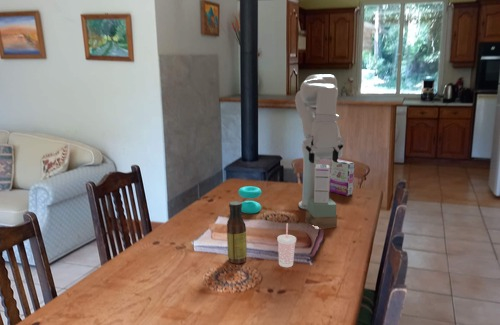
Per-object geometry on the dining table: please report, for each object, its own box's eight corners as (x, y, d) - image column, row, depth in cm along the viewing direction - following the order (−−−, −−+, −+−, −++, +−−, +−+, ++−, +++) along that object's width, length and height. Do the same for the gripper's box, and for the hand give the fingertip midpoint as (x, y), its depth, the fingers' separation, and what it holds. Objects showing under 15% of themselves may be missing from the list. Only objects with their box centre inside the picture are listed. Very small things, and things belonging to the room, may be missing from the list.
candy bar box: (353, 194, 218) (355, 162, 214) (347, 196, 214) (349, 163, 210) (334, 189, 226) (336, 158, 222) (328, 191, 222) (330, 159, 218)
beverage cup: (283, 269, 138) (285, 228, 135) (272, 262, 143) (273, 222, 140) (299, 265, 141) (300, 224, 138) (287, 258, 146) (289, 218, 143)
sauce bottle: (249, 258, 146) (250, 201, 142) (242, 266, 141) (243, 207, 136) (231, 255, 148) (231, 198, 144) (224, 262, 143) (223, 204, 138)
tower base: (305, 222, 180) (305, 210, 179) (324, 219, 183) (324, 208, 182) (317, 230, 172) (317, 218, 171) (336, 226, 175) (337, 215, 174)
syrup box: (328, 203, 172) (330, 167, 168) (313, 202, 173) (314, 167, 169) (328, 199, 177) (330, 164, 174) (313, 198, 178) (315, 163, 175)
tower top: (307, 209, 180) (307, 198, 179) (328, 208, 181) (329, 197, 180) (313, 217, 171) (314, 205, 170) (335, 216, 173) (336, 204, 171)
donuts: (237, 191, 186) (239, 185, 196) (237, 213, 188) (239, 206, 198) (260, 192, 185) (262, 185, 195) (260, 214, 187) (261, 207, 197)
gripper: (342, 116, 174) (339, 158, 178) (300, 117, 170) (299, 160, 174) (350, 119, 167) (347, 163, 171) (307, 120, 162) (305, 165, 167)
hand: (323, 161), depth 172 cm, fingers open, 9 cm apart
